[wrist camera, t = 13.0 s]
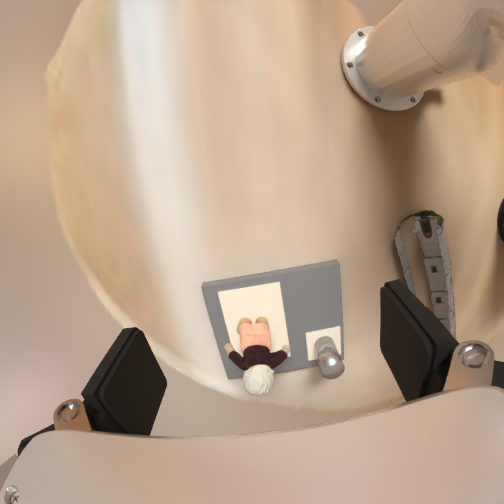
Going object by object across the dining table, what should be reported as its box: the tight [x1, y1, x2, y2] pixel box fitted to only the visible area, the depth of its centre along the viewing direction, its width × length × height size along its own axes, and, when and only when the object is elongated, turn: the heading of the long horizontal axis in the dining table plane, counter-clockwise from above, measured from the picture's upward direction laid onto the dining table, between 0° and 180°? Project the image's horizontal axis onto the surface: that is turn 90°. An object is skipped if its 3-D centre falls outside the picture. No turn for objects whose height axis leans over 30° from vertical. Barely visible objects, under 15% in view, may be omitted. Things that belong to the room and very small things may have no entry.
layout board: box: [201, 260, 344, 379], centre depth 40 cm, size 18×16×2 cm
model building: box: [395, 210, 456, 339], centre depth 37 cm, size 7×7×25 cm
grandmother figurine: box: [224, 317, 290, 396], centre depth 33 cm, size 8×4×13 cm, turn 101°
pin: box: [314, 336, 345, 379], centre depth 37 cm, size 3×3×6 cm
